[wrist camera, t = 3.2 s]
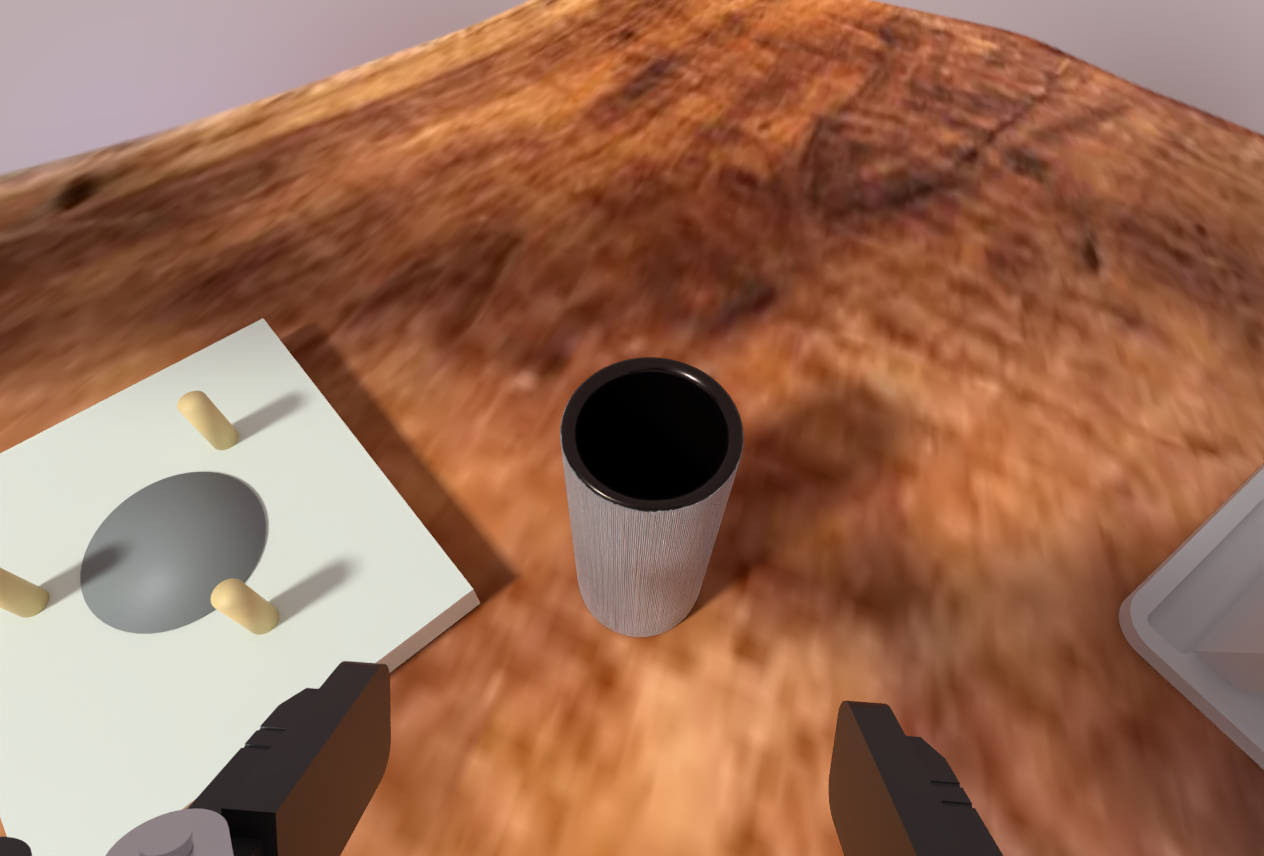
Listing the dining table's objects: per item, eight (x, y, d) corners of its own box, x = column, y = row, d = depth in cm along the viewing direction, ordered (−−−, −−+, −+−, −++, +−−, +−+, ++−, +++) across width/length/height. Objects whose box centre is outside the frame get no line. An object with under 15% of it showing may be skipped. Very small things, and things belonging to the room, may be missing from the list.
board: (-73, 526, 26) (-175, 475, 23) (277, 340, 31) (236, 276, 28) (72, 916, 20) (-39, 925, 16) (480, 603, 25) (459, 561, 22)
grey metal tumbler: (684, 654, 24) (723, 533, 16) (561, 618, 25) (532, 481, 16) (712, 539, 27) (760, 377, 18) (599, 508, 27) (592, 337, 18)
